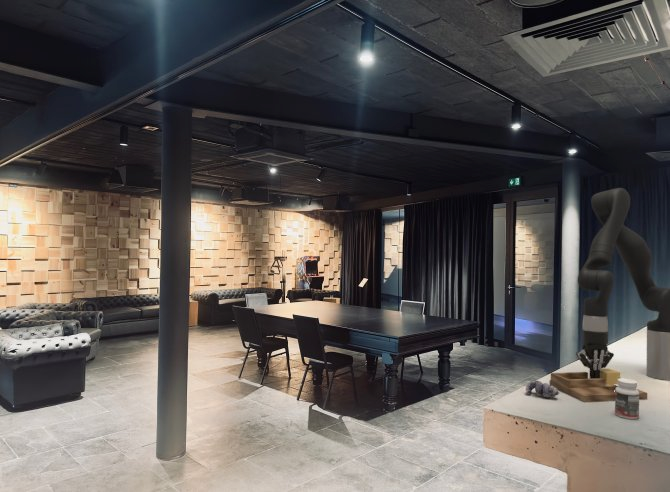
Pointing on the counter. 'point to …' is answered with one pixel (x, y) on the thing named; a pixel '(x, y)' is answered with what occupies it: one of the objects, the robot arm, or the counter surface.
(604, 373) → the block
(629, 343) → the counter surface
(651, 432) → the counter surface
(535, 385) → the seashell
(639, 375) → the counter surface
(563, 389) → the wooden compartment tray
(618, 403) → the pill bottle
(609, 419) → the counter surface
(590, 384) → the cubby
